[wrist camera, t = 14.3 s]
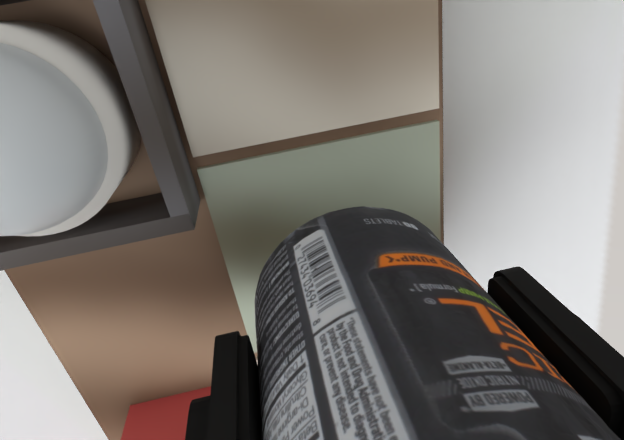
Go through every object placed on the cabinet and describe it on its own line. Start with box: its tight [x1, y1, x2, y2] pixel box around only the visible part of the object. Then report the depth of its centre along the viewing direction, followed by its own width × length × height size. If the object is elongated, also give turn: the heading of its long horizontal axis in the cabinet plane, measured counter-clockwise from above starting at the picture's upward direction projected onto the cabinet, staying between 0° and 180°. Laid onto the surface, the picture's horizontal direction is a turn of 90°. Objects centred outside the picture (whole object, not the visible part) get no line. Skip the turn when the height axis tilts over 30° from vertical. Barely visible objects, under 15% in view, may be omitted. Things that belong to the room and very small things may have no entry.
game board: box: [0, 0, 444, 440], centre depth 14 cm, size 24×14×3 cm, turn 9°
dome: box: [0, 21, 141, 236], centre depth 9 cm, size 5×5×4 cm
